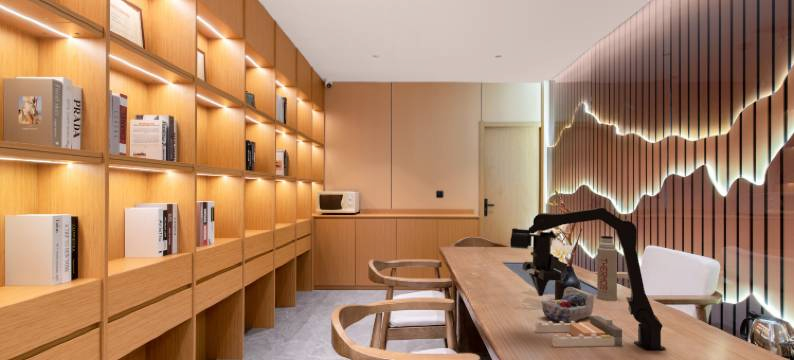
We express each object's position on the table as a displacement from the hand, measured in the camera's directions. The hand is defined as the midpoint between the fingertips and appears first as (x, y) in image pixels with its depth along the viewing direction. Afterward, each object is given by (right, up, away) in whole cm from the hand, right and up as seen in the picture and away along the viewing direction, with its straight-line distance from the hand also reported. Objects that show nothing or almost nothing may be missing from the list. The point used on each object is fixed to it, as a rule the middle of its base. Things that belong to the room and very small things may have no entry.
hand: (540, 295), depth 149 cm
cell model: (+16, -14, +18) cm, 27 cm away
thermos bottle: (+46, -14, +48) cm, 68 cm away
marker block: (+14, -13, -4) cm, 20 cm away
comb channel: (+11, -13, -5) cm, 17 cm away
